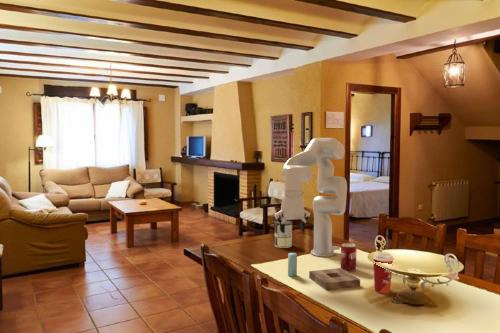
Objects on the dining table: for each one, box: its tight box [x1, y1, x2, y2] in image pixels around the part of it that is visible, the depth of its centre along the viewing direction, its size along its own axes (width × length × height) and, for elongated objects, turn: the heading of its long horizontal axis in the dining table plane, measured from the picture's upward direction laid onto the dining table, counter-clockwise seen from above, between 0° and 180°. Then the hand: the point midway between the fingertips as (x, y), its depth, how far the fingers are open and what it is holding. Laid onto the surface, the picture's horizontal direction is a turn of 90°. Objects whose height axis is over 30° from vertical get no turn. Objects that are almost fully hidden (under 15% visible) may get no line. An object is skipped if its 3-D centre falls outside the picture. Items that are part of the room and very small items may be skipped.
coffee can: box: [274, 220, 293, 249], centre depth 238 cm, size 10×10×14 cm
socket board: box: [308, 267, 361, 291], centre depth 178 cm, size 16×16×3 cm
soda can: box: [340, 242, 358, 273], centre depth 195 cm, size 7×7×12 cm
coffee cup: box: [372, 252, 395, 294], centre depth 168 cm, size 8×8×15 cm
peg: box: [287, 252, 298, 278], centre depth 186 cm, size 4×4×10 cm
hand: (292, 231), depth 185 cm, fingers open, 9 cm apart
